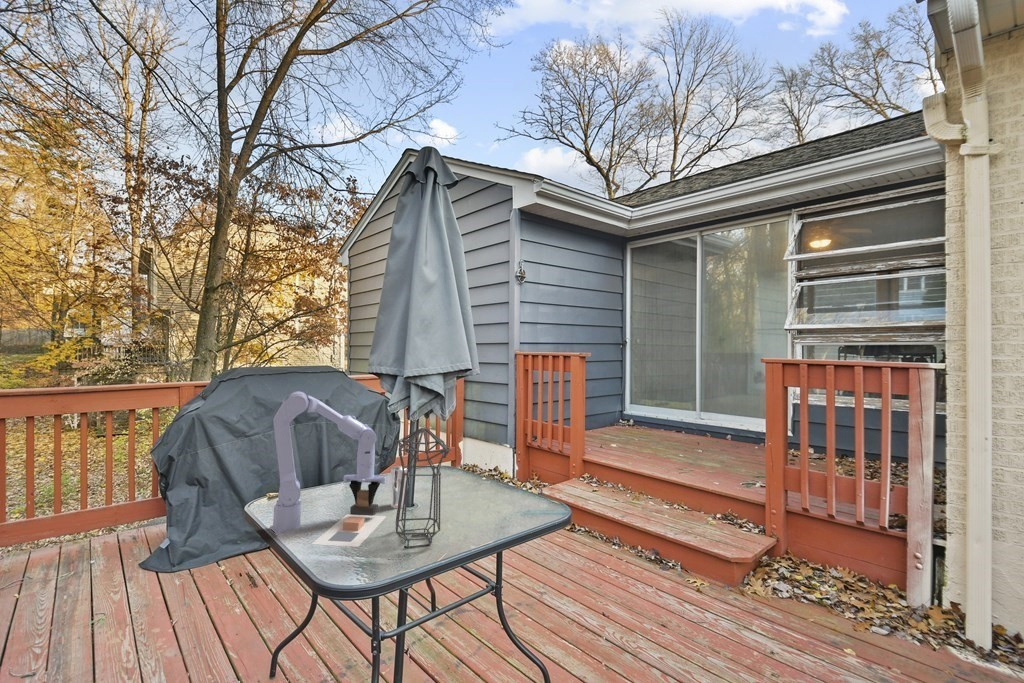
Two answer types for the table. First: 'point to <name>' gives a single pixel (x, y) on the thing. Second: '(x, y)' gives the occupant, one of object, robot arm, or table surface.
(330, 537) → the board
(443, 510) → the table surface
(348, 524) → the tile
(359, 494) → the brown block stamp
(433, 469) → the geometric lantern
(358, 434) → the robot arm
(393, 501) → the beer glass
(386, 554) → the table surface
